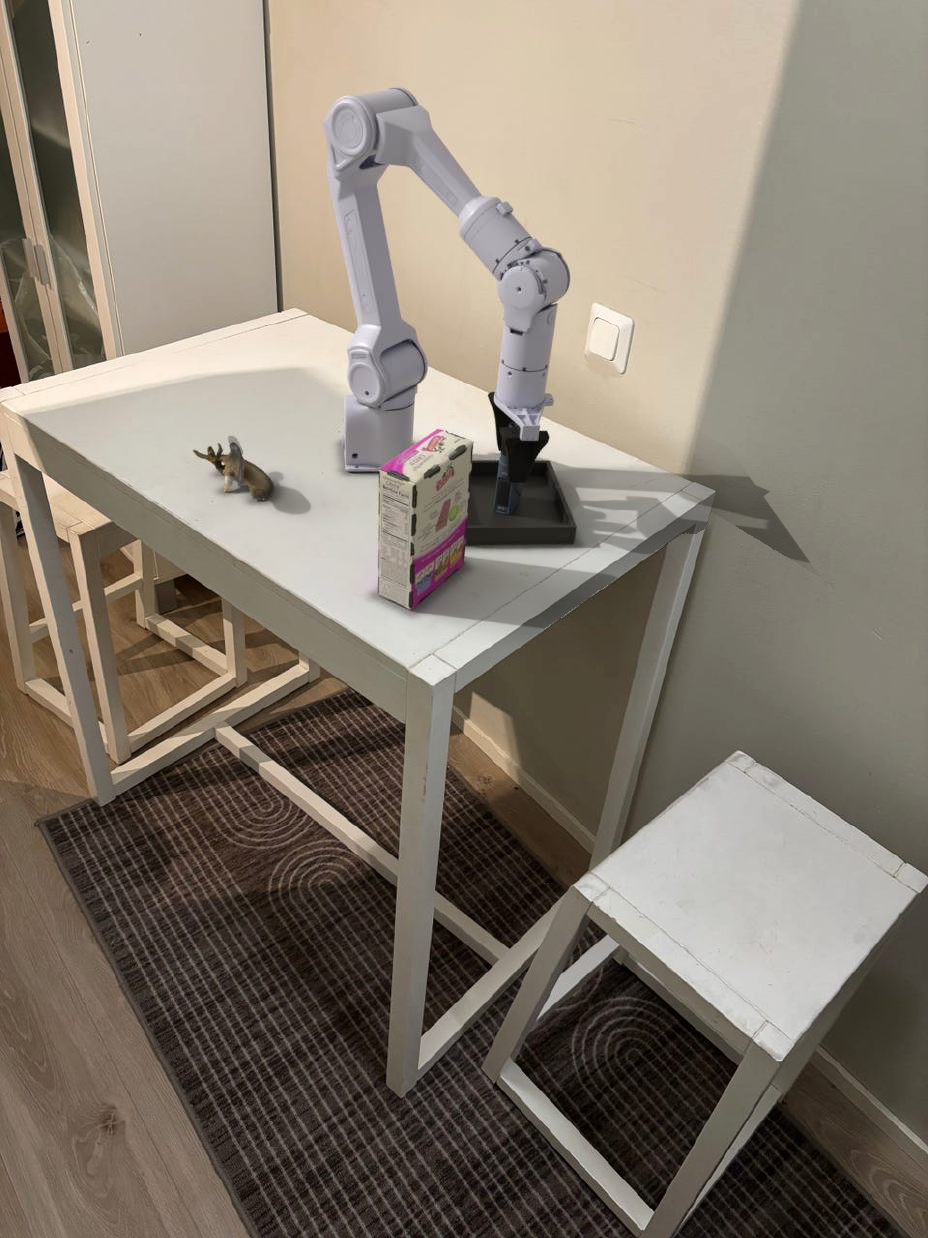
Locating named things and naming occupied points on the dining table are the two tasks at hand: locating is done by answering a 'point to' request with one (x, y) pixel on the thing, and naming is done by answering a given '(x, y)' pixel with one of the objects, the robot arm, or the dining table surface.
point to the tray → (518, 509)
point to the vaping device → (506, 486)
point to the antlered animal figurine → (239, 469)
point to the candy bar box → (423, 517)
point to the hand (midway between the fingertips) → (511, 465)
